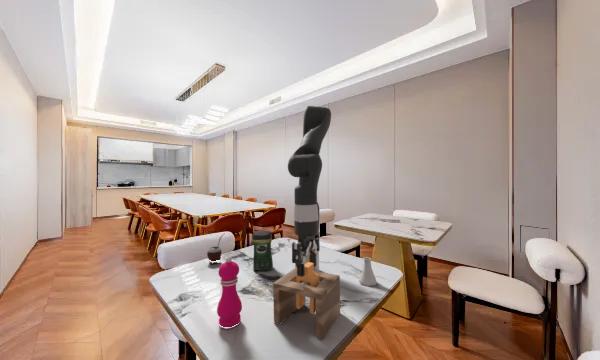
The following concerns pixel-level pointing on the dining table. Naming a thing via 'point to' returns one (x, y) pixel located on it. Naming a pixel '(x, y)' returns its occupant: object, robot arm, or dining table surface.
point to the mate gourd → (214, 252)
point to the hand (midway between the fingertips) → (307, 270)
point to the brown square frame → (323, 293)
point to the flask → (367, 274)
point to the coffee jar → (262, 250)
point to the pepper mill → (229, 295)
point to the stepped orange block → (314, 281)
